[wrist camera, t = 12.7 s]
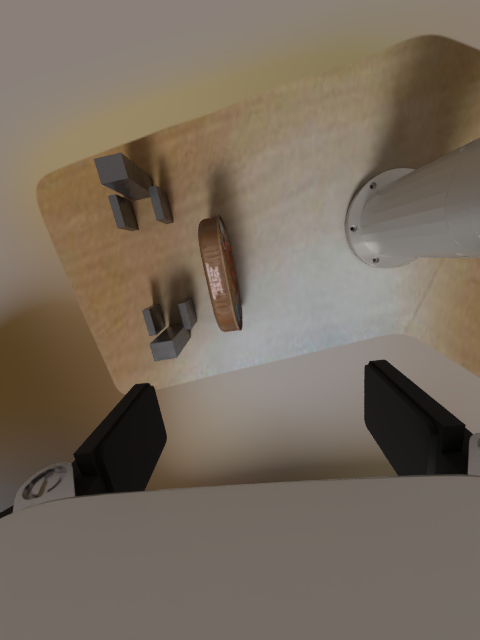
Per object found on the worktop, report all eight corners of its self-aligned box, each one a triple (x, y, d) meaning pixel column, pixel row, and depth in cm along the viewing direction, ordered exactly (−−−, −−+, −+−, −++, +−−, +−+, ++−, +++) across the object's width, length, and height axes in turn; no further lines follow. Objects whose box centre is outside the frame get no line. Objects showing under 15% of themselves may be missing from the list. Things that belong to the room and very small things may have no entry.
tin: (244, 320, 38) (243, 338, 30) (224, 323, 38) (219, 342, 30) (226, 219, 34) (219, 208, 26) (204, 223, 34) (191, 214, 26)
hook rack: (161, 174, 33) (135, 149, 25) (200, 335, 38) (188, 355, 31) (118, 184, 33) (79, 162, 25) (163, 341, 39) (142, 363, 31)
